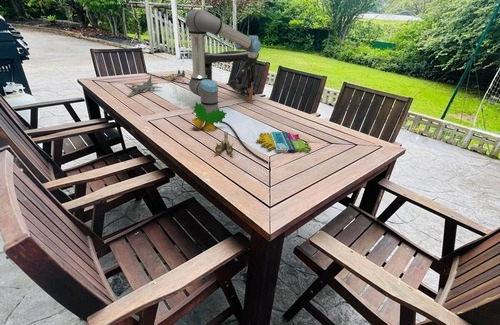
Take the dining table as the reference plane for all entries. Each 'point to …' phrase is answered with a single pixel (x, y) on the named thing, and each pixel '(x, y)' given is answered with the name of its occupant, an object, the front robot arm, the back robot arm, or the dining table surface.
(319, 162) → the dining table surface
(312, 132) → the dining table surface
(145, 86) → the airplane
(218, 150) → the jawbone
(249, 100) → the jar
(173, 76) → the toy
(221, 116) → the ornament
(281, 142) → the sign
